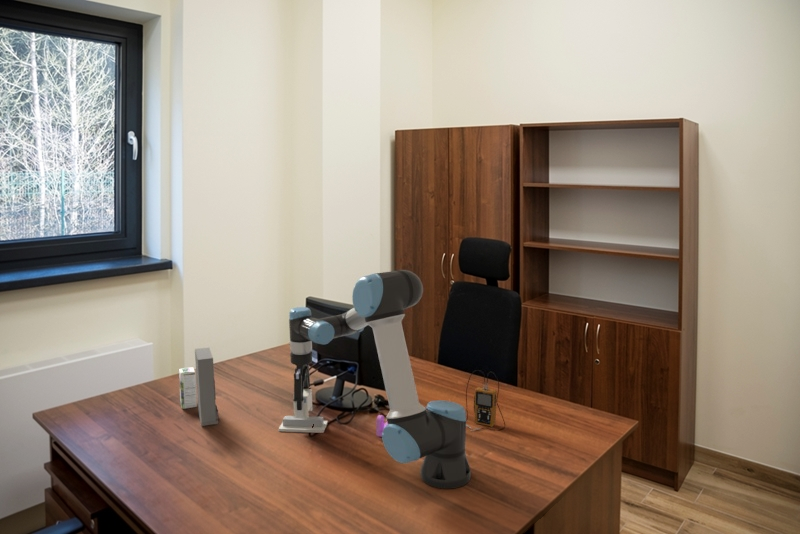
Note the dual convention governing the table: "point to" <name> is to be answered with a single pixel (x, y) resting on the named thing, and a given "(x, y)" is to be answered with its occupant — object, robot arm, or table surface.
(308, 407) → the module
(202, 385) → the tall grey upright slab
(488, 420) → the multimeter
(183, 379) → the syrup box
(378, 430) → the bracket
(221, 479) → the table surface
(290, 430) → the rail base
